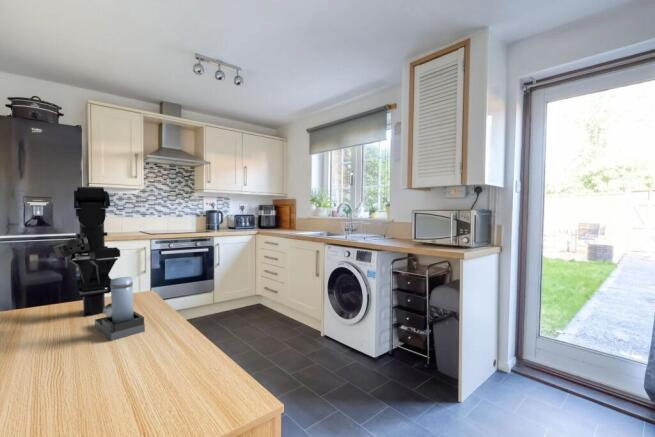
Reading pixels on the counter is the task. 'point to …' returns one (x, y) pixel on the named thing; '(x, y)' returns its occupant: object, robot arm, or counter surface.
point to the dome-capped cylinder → (122, 299)
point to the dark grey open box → (119, 325)
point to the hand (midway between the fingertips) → (93, 283)
